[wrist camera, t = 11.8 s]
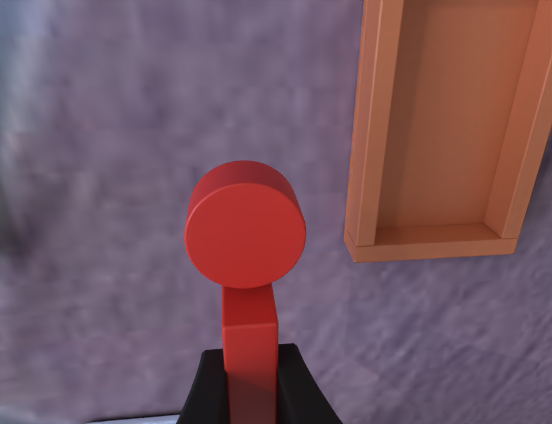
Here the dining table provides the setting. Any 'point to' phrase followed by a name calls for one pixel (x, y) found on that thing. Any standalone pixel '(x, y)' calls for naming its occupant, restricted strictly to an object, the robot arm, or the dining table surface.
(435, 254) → the terracotta tray
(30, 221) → the dining table surface
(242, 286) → the red spoon
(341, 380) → the dining table surface
